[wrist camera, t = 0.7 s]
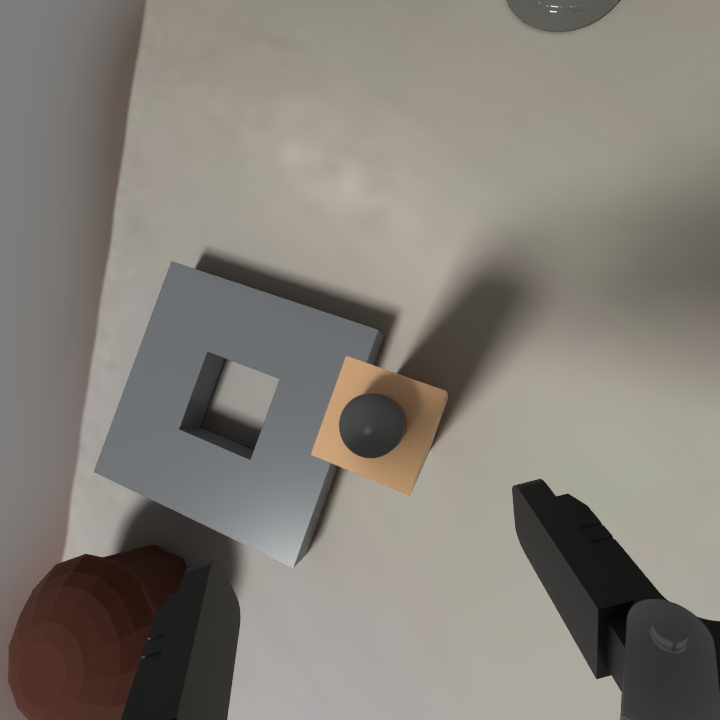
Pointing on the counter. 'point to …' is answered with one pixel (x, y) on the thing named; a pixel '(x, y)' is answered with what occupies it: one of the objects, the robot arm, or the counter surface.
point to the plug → (380, 424)
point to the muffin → (88, 633)
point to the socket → (192, 396)
